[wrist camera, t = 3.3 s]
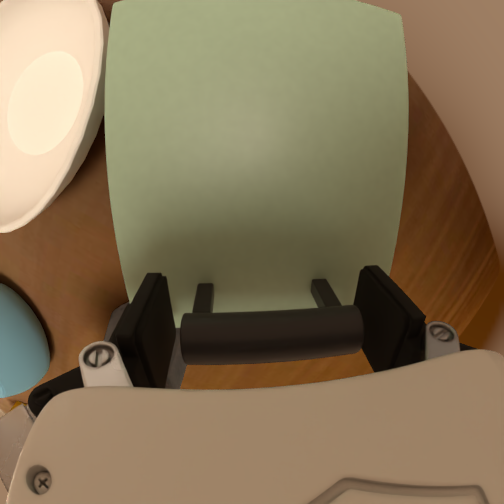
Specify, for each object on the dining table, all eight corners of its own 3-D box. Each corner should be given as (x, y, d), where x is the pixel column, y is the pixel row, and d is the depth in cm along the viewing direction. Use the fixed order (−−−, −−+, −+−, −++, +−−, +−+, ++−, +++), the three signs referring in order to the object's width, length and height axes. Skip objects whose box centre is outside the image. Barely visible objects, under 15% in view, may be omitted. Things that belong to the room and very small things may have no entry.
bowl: (170, 155, 20) (141, 165, 13) (12, 234, 21) (-30, 263, 14) (119, -27, 12) (90, -63, 5) (-23, 80, 13) (-66, 81, 6)
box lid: (373, 307, 14) (416, 369, 10) (139, 317, 13) (111, 390, 9) (393, 19, 8) (457, -13, 4) (118, 8, 7) (68, -38, 3)
